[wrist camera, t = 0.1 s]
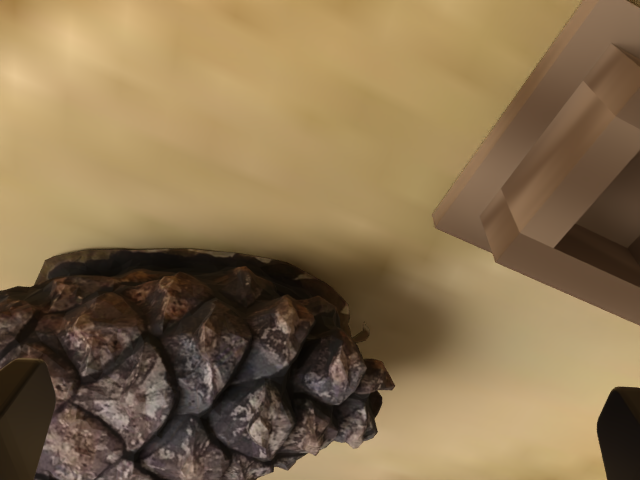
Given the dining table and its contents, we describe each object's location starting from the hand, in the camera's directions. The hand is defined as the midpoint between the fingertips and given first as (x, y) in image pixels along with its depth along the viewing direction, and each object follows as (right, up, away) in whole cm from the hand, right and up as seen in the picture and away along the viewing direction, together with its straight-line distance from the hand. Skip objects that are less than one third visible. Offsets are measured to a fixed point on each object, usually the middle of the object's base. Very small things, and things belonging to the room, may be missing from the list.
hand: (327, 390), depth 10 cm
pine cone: (-6, 0, +19) cm, 20 cm away
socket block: (+11, +5, +14) cm, 19 cm away
